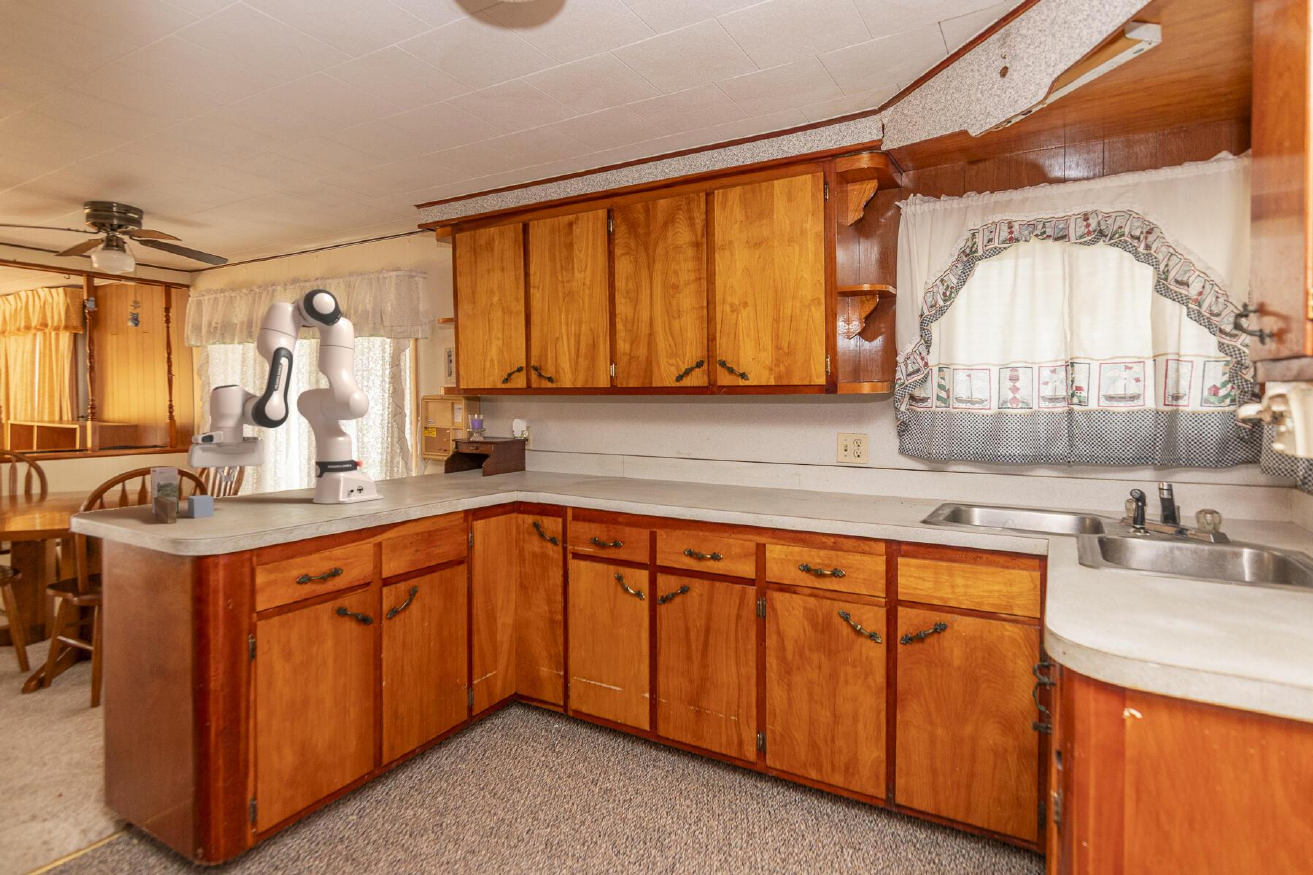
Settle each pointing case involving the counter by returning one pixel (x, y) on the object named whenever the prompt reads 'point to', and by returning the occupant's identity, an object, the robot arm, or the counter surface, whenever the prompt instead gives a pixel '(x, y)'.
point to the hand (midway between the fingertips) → (227, 481)
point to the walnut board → (165, 509)
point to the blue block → (200, 506)
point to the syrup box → (165, 484)
